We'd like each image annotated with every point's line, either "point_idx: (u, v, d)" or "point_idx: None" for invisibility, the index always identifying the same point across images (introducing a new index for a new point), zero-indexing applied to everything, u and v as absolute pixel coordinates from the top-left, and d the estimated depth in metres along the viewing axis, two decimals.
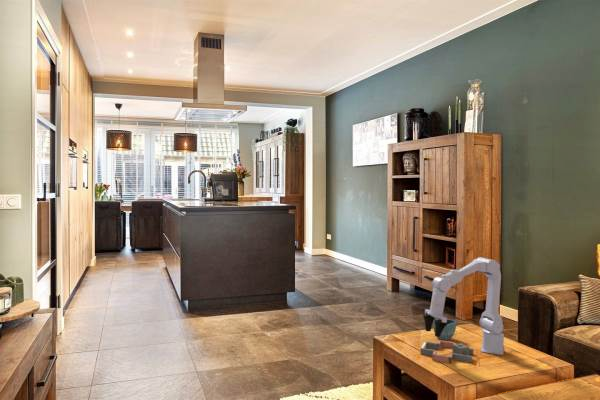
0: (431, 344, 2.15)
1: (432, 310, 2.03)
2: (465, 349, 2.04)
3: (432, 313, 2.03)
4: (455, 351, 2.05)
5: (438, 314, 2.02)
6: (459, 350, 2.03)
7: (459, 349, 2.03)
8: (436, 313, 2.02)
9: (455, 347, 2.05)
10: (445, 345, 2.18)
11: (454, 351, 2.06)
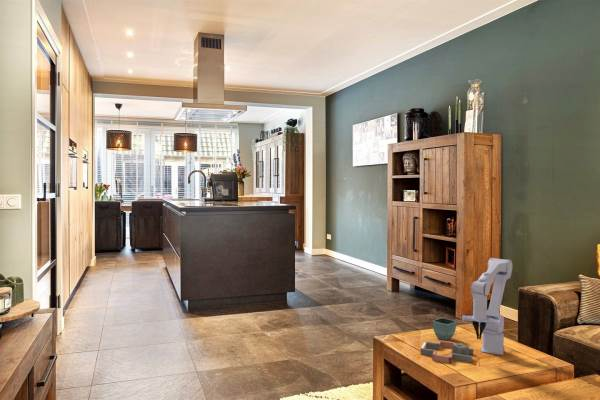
0: (431, 344, 2.15)
1: (481, 316, 1.99)
2: (465, 349, 2.04)
3: (482, 319, 1.99)
4: (455, 351, 2.06)
5: (486, 318, 2.00)
6: (459, 350, 2.03)
7: (459, 349, 2.03)
8: (485, 318, 2.00)
9: (455, 347, 2.06)
10: (445, 345, 2.18)
11: (454, 351, 2.06)
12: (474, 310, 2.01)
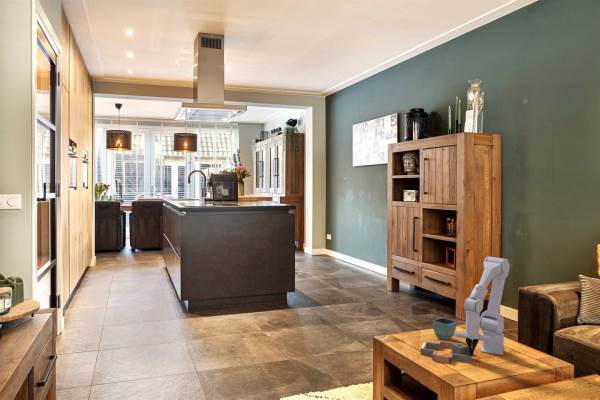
0: (431, 344, 2.15)
1: (474, 333, 2.01)
2: (465, 348, 2.04)
3: (474, 336, 2.00)
4: (454, 351, 2.06)
5: (478, 335, 2.02)
6: (458, 350, 2.03)
7: (458, 349, 2.03)
8: (477, 335, 2.01)
9: (454, 347, 2.06)
10: (445, 345, 2.18)
11: (453, 351, 2.06)
12: (467, 327, 2.03)
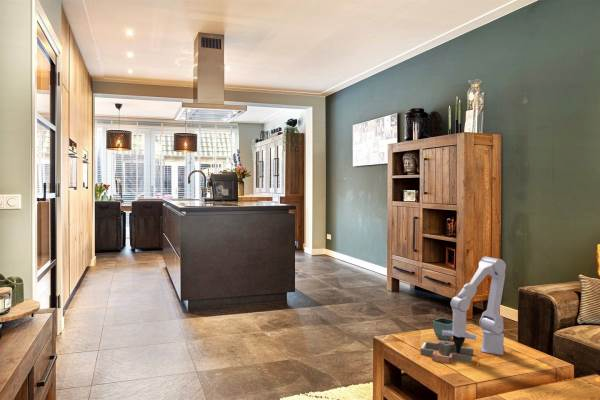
0: (431, 344, 2.15)
1: (460, 331, 2.03)
2: (452, 346, 2.06)
3: (461, 334, 2.03)
4: (441, 348, 2.08)
5: (465, 333, 2.04)
6: (445, 347, 2.06)
7: (445, 346, 2.06)
8: (464, 333, 2.03)
9: (441, 344, 2.08)
10: None
11: (440, 348, 2.09)
12: (453, 325, 2.05)
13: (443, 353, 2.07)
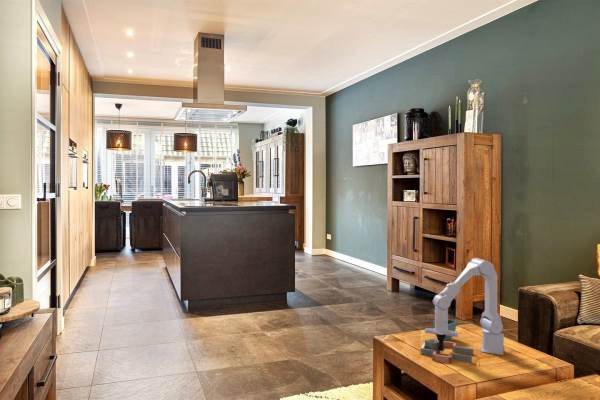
0: None
1: (442, 329, 2.06)
2: (437, 344, 2.09)
3: (443, 332, 2.06)
4: (427, 346, 2.10)
5: (447, 331, 2.07)
6: (431, 345, 2.08)
7: (431, 344, 2.08)
8: (446, 330, 2.07)
9: (427, 342, 2.10)
10: (445, 345, 2.18)
11: (426, 346, 2.11)
12: (436, 323, 2.08)
13: None
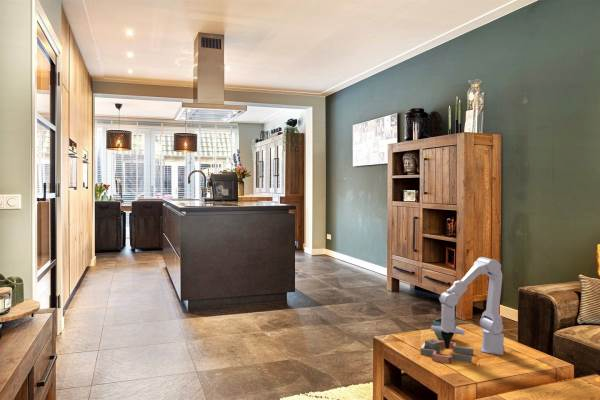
0: None
1: (449, 327, 2.05)
2: (437, 344, 2.09)
3: (449, 330, 2.05)
4: (427, 347, 2.10)
5: (453, 328, 2.06)
6: (431, 346, 2.08)
7: (431, 345, 2.08)
8: (452, 328, 2.06)
9: (427, 343, 2.10)
10: None
11: (426, 347, 2.11)
12: (442, 320, 2.07)
13: None
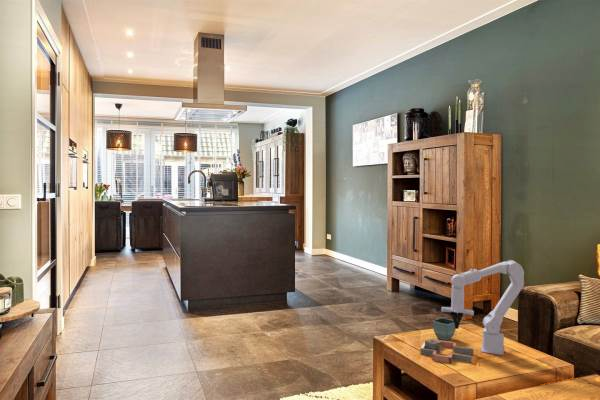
0: None
1: (458, 307, 2.14)
2: (437, 344, 2.09)
3: (459, 310, 2.13)
4: (427, 347, 2.10)
5: (463, 309, 2.15)
6: (431, 346, 2.08)
7: (431, 345, 2.08)
8: (462, 309, 2.14)
9: (427, 343, 2.10)
10: (445, 345, 2.18)
11: (426, 347, 2.11)
12: (452, 301, 2.15)
13: None
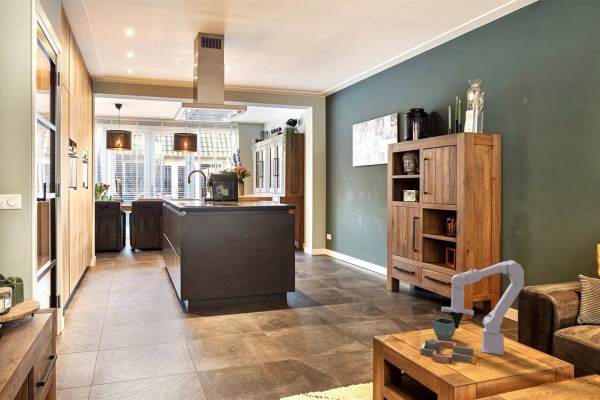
0: None
1: (458, 307, 2.14)
2: (437, 344, 2.09)
3: (459, 310, 2.13)
4: (427, 347, 2.10)
5: (463, 309, 2.15)
6: (431, 345, 2.08)
7: (431, 344, 2.08)
8: (462, 309, 2.14)
9: (427, 343, 2.10)
10: (445, 345, 2.18)
11: (426, 347, 2.11)
12: (452, 301, 2.15)
13: None
